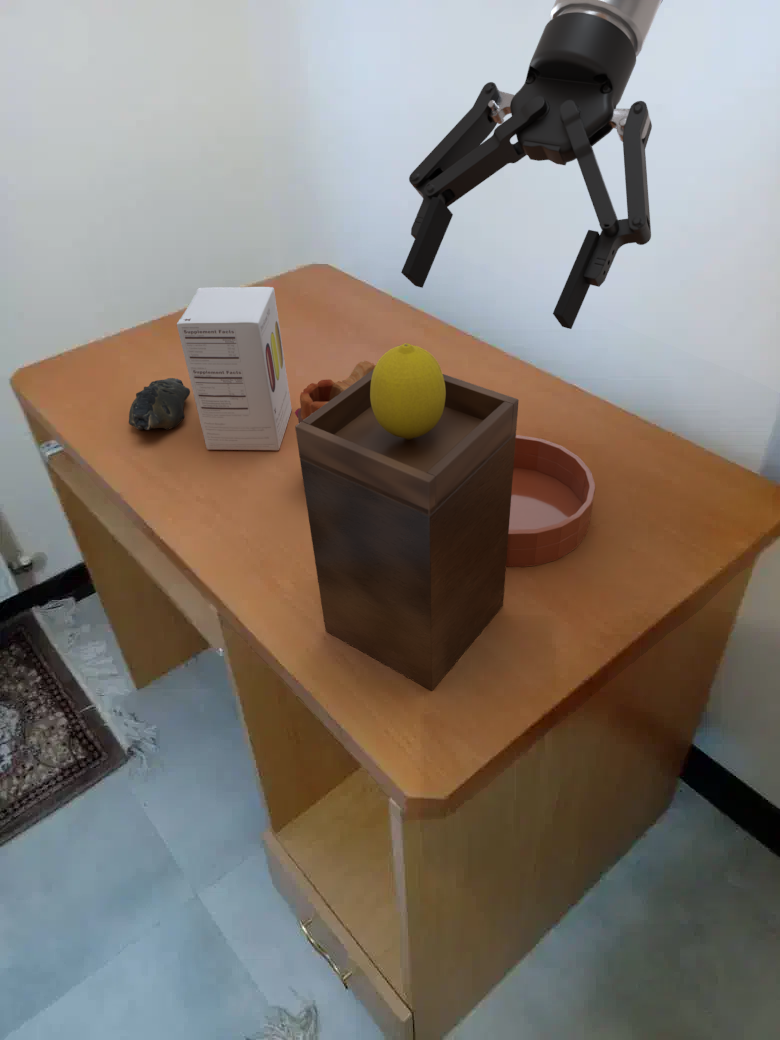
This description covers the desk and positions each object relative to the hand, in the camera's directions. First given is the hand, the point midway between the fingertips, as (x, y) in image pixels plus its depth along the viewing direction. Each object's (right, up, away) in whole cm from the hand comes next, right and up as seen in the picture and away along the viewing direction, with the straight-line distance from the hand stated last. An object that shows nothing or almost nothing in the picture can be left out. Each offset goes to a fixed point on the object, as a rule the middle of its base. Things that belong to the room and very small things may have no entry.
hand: (482, 300), depth 62 cm
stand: (-5, -26, +12) cm, 30 cm away
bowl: (+6, -16, +23) cm, 29 cm away
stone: (-37, -4, +40) cm, 55 cm away
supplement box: (-25, -6, +37) cm, 45 cm away
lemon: (-6, -11, -1) cm, 13 cm away
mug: (-12, -12, +30) cm, 34 cm away
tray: (-6, -11, -1) cm, 13 cm away
